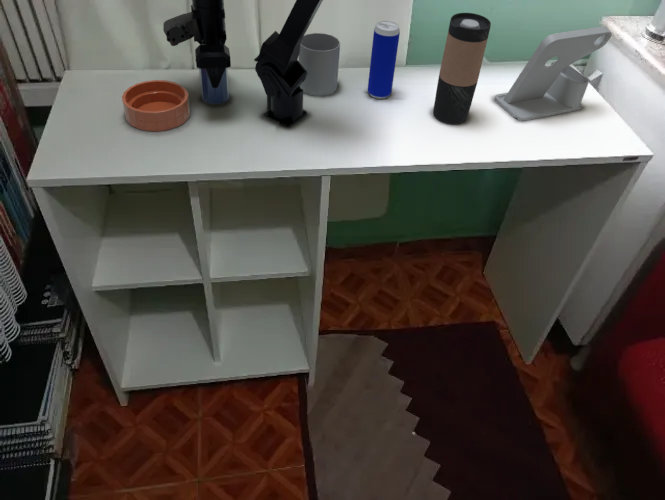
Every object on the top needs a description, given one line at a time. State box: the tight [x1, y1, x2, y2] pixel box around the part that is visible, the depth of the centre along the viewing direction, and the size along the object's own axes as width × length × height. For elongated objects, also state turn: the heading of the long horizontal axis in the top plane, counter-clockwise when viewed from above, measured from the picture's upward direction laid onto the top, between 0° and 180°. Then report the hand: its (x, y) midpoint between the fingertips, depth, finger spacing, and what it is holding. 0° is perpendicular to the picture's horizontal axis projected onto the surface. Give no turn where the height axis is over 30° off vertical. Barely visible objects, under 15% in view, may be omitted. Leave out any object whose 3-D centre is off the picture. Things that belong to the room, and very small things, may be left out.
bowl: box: [121, 79, 191, 132], centre depth 119 cm, size 12×12×4 cm
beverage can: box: [367, 20, 401, 100], centre depth 127 cm, size 5×5×15 cm
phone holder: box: [494, 25, 613, 122], centre depth 127 cm, size 17×10×18 cm, turn 113°
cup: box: [298, 32, 341, 97], centre depth 129 cm, size 8×8×10 cm
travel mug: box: [432, 12, 492, 125], centre depth 120 cm, size 8×8×20 cm
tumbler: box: [198, 68, 230, 105], centre depth 123 cm, size 5×5×10 cm
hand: (214, 80), depth 123 cm, fingers closed on tumbler, 6 cm apart
